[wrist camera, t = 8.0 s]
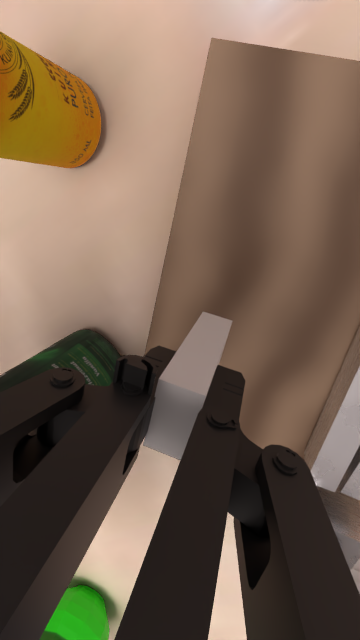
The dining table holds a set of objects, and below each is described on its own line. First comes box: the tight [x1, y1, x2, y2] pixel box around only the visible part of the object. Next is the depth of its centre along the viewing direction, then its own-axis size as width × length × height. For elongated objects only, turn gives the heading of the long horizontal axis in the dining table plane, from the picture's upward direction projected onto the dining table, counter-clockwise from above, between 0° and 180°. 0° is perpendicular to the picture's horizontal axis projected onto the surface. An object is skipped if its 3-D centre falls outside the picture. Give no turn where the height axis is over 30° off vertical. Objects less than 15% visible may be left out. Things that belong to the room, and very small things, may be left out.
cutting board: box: [144, 38, 360, 505], centre depth 23 cm, size 22×30×2 cm
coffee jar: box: [0, 330, 121, 392], centre depth 24 cm, size 10×8×19 cm
